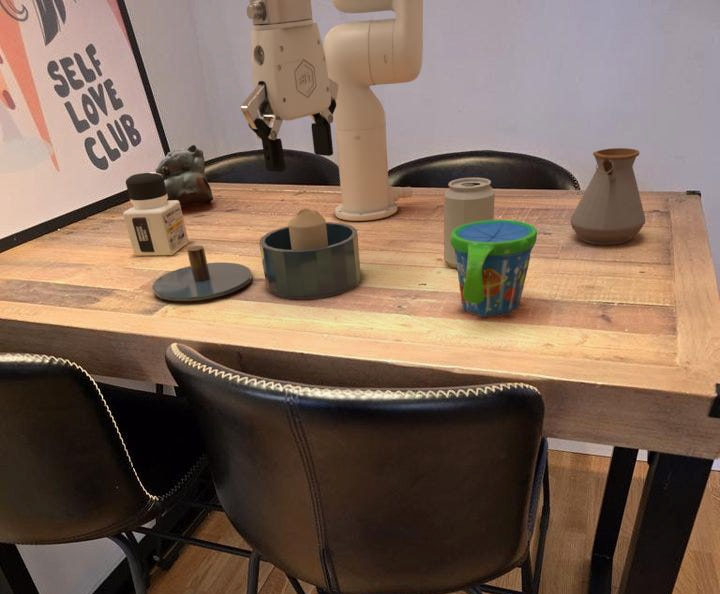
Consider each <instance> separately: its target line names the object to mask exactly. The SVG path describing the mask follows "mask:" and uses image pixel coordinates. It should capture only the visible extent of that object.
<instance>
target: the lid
mask: <svg viewBox="0 0 720 594" xmlns="http://www.w3.org/2000/svg"><path fill="white" fill-rule="evenodd" d="M186 253H187V256H188V260H189V265H188V266H184V267H181V268H178V269H175V270H172V271H169V272H167V273H165V274H163V275H161V276H160V277H158V278H157V279H155V281H154V282H153V283H152V286H151V289H152V292H153V294H154V295H155V296H156V297H158V298H160V299H163V300H167V301H171V302H172V301H175V302H193V301H202V300H203V301H204V300H209V299H214V298H218V297H221V296H225V295H228V294H231V293H233V292H236V291H238V290H241V289H242V288H244V287H246V286H247V285H248V284H249V283H250V282H251V281H252V278H253V274H252V271H251V269H250V268H249V267H248V266H246V265H243V264H240V263H235V262H208V259H207V255H206V251H205V246H204V245H192V246H189V247H187V248H186Z"/></svg>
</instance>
